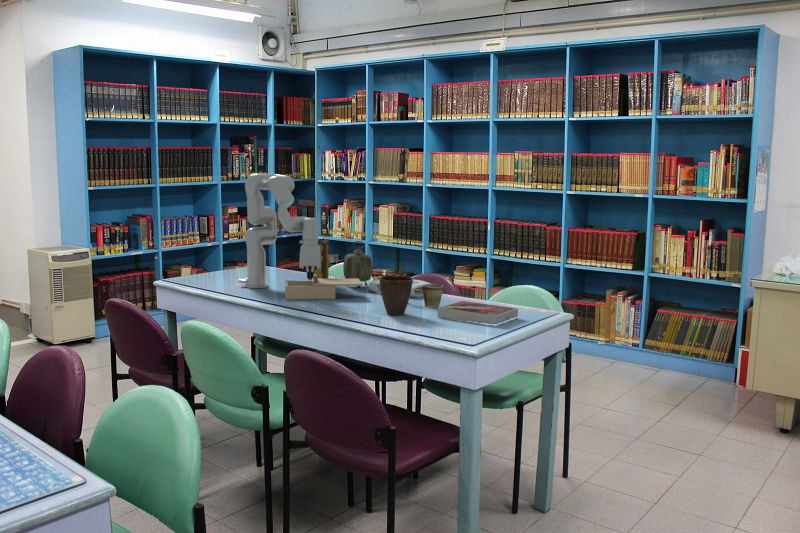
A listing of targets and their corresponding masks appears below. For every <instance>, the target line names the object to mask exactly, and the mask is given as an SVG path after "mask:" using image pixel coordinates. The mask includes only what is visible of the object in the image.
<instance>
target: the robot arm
mask: <svg viewBox="0 0 800 533" xmlns="http://www.w3.org/2000/svg"><path fill="white" fill-rule="evenodd" d="M294 189H295V182H294V180H293V178H292V177H291V176H288V175H285V174H284V175H282V174H278V173H265V172H264V173H262V172H261V173H252V174H250V175H249V176H248V177H247V178H246V179H245V183H244V190H245V194H246V205H247V207H246V208H247V220H248V222H249V223H250V224H252V225H263V226H254V227H250V228H248V229H247V230H246V231H245V235H244V237H245V244H246V250H247V252H246V258H247V259H246V261H247V263H246V264H247V269H246V270H247V274H246V276H247V277H246V278H239V279H238V283H241V284H244V287H245V288H249V289H263V288H265V289H266V288H268V287H269V283H267V282H266V279H267V278H266V277H267V276H266V275H267V274H266V267H267V266H266V265H267V264H266V263H267V262H266V260H267V258H266V257H267V256H266V255H267V254H266V250H265V248H264V247H263V245H266V246H267V245H272V244H274V243H275V242H276V241H277V239H278V222H277V221H279V222H280V224H281V225H282V227H283V229H285V231H286V232H289V233H298V232H299V233H301V232H302V239H300V240H299V244H302V245H300V250H299V265H298V267H299V269H304V270H305V272H306V278H307V280H312V278H313V272H314V271H315V270H316V269H318V268H321V265H320V263H321V257H320V247H319V246H318V239H319V220H318V218H316V217H307V216H291V214H290V213H289V210H288V208H289V207H290V206H292V204H294V202H295V198H294V196H293V194H292V192H293V190H294ZM261 191H269V192H270V193H271V194H272V196H273V197H274V200H275V201H276V203H277V205H278V208H277V213H276V210H275V209H274V208H273V207H272V206H268V205H267V206H266V205H265V203H264V202H265V200H264V196H263V194H262V192H261ZM309 267H311V269H309Z"/></svg>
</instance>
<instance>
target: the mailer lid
mask: <svg viewBox="0 0 800 533" xmlns="http://www.w3.org/2000/svg"><path fill="white" fill-rule="evenodd" d="M312 283H313V286H335V287H338V286H339V287H354V286H355V287H356V286H357V287H358V286H360V287H362V286H363V283H362V281H360V280H359V279H346V278H328V279H326V278H318V277H317V274H313V278H312Z"/></svg>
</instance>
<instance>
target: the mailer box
mask: <svg viewBox="0 0 800 533" xmlns="http://www.w3.org/2000/svg"><path fill="white" fill-rule="evenodd" d="M284 280H285V279H284ZM284 282H285V283H284V284H285V288H284V290H285V291H284V292H285V294H284V295H285V296H284V298H285V299H284V300H285V301H291V300H293V301H295V300H296V299H330V300H331V299H332V300H336V286H313V283H312V280H308V279H307V280H303V279H302V280H299V279H298V280H295V279H294V280H291V279H290V280H285V281H284ZM332 300H331V301H332ZM296 301H297V300H296Z"/></svg>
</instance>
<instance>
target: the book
mask: <svg viewBox="0 0 800 533" xmlns="http://www.w3.org/2000/svg"><path fill="white" fill-rule="evenodd" d="M321 240H322V238H318V246H319V247H320V257H321V263H320V265H321V268H318V269H316V270H315V271H314V272H313V274H317V277H318V278H326V279H329V267H330V265H331V263H332V262H331V259H330V257H329V256H330V254H329V253H330V252H329V251H330V250H329V249H330V239H329V238H325V239H324V240H322V241H321Z"/></svg>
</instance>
